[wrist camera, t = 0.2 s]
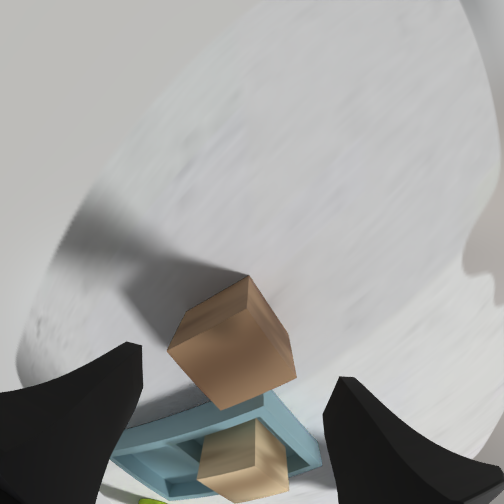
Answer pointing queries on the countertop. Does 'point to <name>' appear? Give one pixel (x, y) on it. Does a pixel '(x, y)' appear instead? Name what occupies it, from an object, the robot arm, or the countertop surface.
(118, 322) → the countertop surface
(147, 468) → the caddy
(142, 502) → the soap dispenser
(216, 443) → the oak twin block
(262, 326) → the walnut block
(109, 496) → the countertop surface
